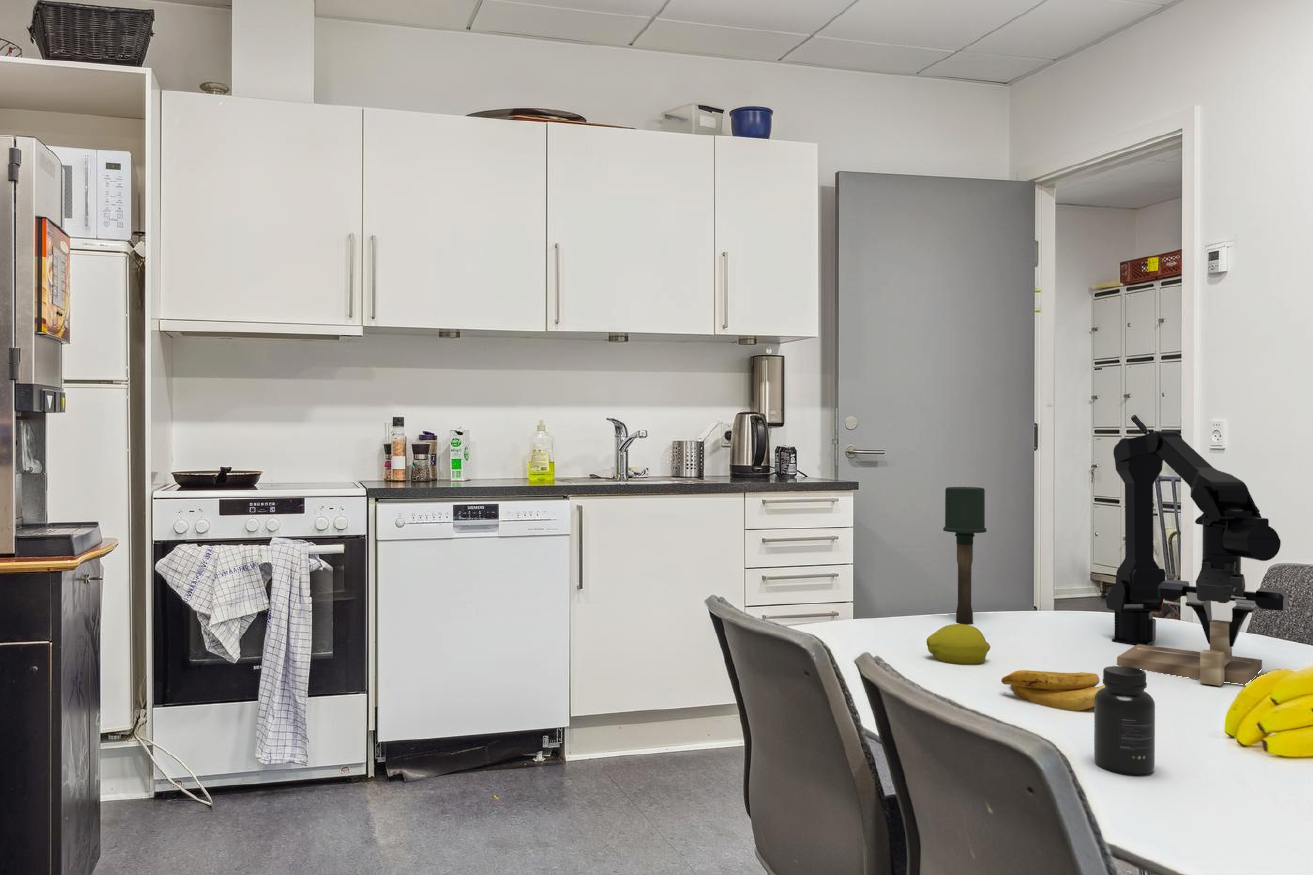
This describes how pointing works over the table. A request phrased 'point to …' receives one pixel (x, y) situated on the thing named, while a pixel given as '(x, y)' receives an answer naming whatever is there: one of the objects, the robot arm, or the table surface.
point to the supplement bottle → (1124, 722)
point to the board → (1185, 663)
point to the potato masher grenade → (964, 538)
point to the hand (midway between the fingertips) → (1220, 645)
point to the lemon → (958, 645)
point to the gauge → (1216, 653)
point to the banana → (1055, 688)
